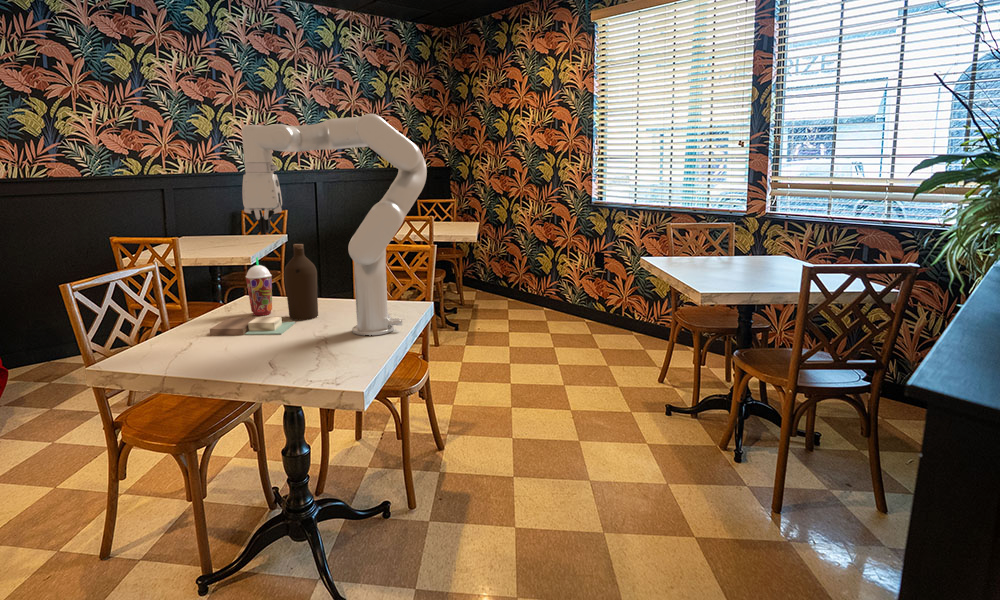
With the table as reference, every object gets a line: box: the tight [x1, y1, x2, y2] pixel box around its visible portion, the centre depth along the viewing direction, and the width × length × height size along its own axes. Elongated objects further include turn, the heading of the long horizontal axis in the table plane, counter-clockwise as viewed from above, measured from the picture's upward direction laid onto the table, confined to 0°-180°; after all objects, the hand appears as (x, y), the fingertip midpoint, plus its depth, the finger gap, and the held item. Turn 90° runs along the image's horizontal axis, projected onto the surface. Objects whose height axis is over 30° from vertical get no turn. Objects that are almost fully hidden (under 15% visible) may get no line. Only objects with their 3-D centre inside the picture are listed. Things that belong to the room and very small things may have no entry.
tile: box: [248, 316, 283, 331], centre depth 189 cm, size 8×7×2 cm
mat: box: [244, 321, 296, 336], centre depth 189 cm, size 11×14×1 cm
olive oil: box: [283, 243, 319, 321], centre depth 201 cm, size 11×11×25 cm
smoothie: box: [245, 256, 273, 317], centre depth 206 cm, size 8×8×20 cm
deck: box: [209, 317, 256, 336], centre depth 189 cm, size 10×14×2 cm
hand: (265, 232), depth 177 cm, fingers closed
